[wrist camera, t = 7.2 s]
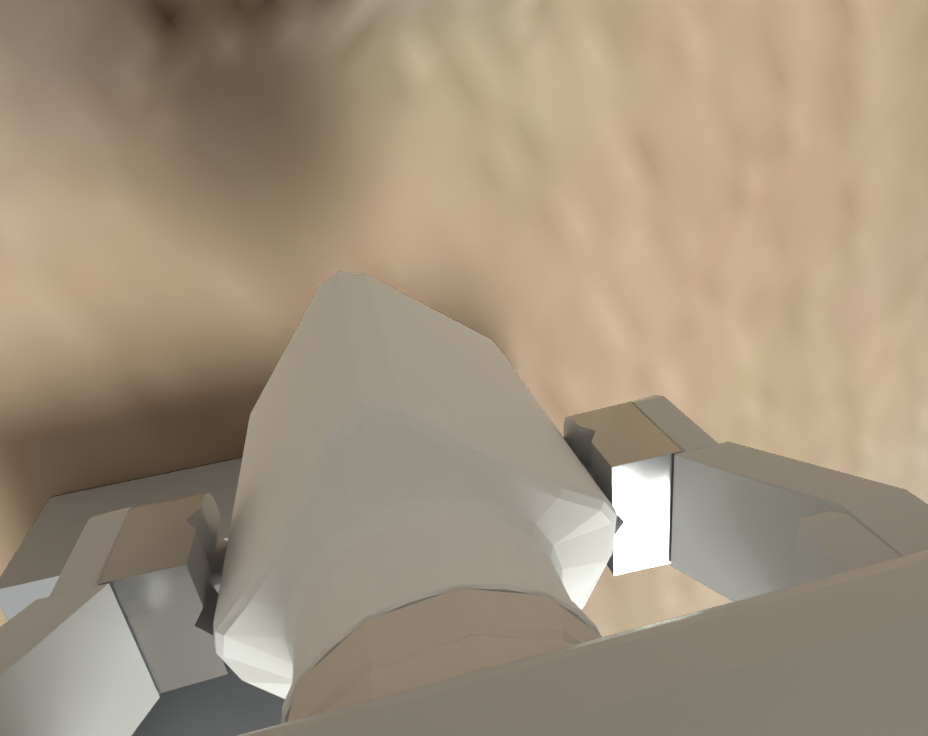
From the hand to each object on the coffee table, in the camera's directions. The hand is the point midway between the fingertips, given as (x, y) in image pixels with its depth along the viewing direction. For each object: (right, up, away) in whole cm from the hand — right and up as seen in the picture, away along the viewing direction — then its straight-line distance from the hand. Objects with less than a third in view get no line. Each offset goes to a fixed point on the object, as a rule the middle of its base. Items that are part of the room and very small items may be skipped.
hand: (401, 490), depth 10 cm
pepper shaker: (-1, +2, +4) cm, 4 cm away
